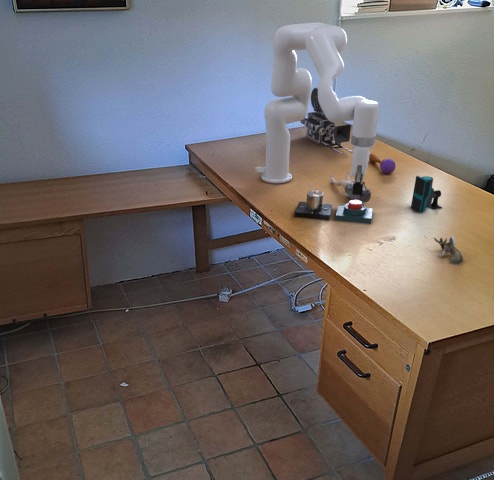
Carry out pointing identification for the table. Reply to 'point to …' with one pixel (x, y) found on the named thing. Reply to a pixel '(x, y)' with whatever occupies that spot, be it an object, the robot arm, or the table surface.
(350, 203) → the red button
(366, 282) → the table surface
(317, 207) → the dial
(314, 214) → the dial panel
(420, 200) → the surveillance camera
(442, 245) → the antlered animal figurine
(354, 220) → the button box
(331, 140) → the film camera
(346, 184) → the anime figure
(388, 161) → the purple maraca
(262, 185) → the table surface
